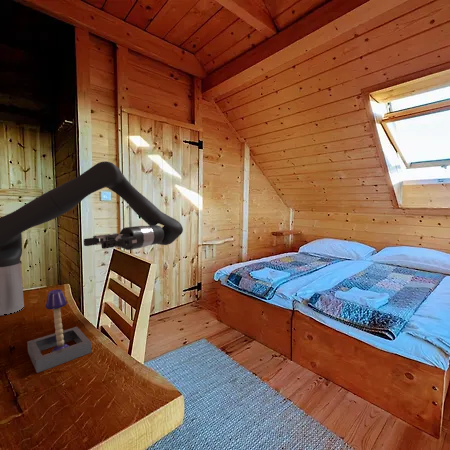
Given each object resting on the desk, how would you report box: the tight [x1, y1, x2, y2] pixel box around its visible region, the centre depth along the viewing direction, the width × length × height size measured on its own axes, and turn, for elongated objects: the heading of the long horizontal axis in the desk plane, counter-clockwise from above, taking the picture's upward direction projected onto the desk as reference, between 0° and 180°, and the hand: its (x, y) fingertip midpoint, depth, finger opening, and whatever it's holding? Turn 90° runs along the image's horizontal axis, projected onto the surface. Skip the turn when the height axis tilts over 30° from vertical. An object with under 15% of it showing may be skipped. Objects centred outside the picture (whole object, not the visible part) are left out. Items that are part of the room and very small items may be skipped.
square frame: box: [26, 326, 92, 374], centre depth 71 cm, size 12×12×3 cm
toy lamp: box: [45, 289, 70, 352], centre depth 71 cm, size 5×5×17 cm
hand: (93, 243), depth 78 cm, fingers open, 8 cm apart
